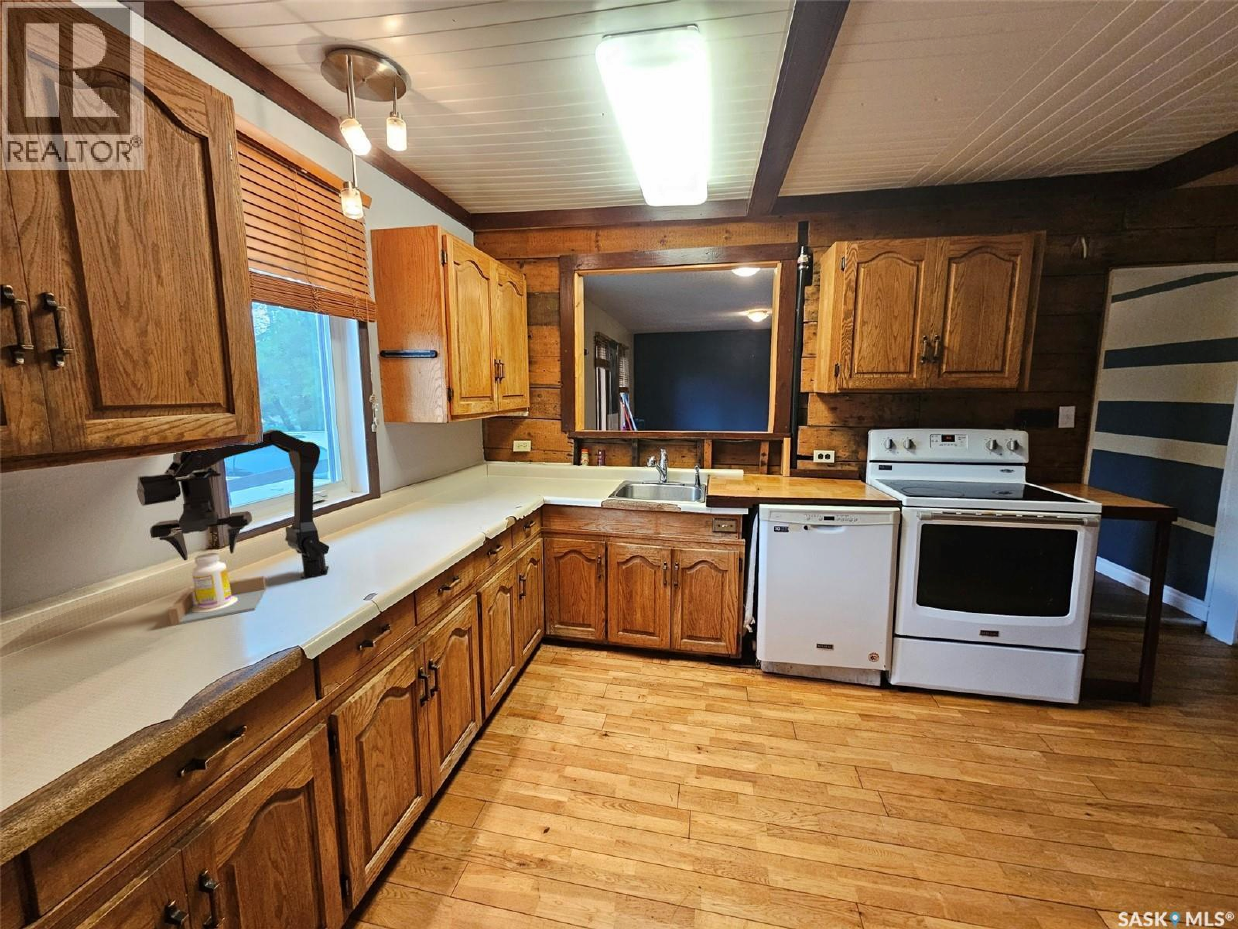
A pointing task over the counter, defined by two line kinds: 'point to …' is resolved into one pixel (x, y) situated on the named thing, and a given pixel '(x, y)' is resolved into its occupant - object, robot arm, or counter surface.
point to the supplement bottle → (211, 581)
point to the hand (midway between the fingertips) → (209, 556)
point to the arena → (243, 600)
